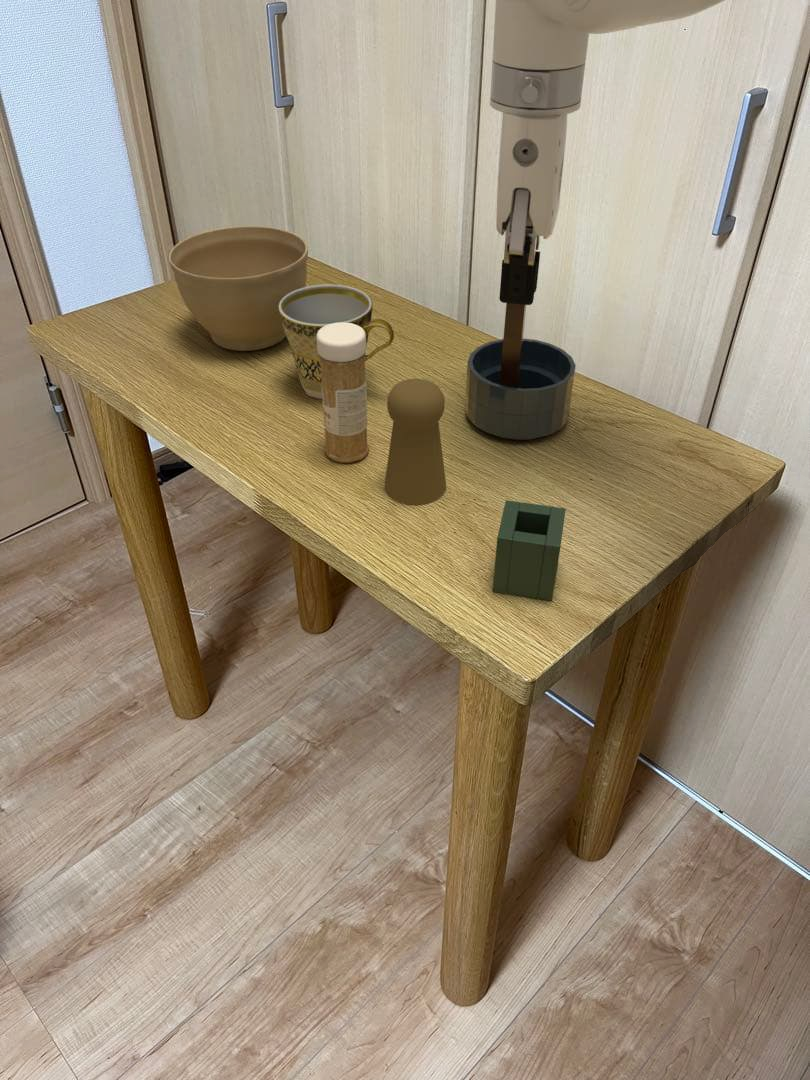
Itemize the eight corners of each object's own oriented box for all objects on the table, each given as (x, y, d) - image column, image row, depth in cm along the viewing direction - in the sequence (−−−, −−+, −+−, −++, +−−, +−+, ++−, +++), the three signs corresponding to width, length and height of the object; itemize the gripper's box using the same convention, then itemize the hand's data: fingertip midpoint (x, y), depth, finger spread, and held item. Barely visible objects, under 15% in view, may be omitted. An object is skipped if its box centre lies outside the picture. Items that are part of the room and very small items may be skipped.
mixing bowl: (571, 396, 95) (579, 344, 91) (562, 451, 87) (570, 396, 83) (474, 385, 97) (477, 333, 93) (457, 438, 89) (459, 383, 84)
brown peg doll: (374, 476, 84) (371, 378, 76) (429, 461, 85) (431, 364, 78) (399, 511, 79) (399, 411, 72) (457, 494, 81) (462, 395, 74)
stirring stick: (516, 403, 90) (533, 236, 79) (514, 412, 89) (531, 243, 77) (499, 401, 91) (514, 235, 79) (497, 410, 89) (511, 242, 78)
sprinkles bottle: (321, 443, 88) (312, 323, 79) (364, 436, 89) (360, 317, 80) (329, 468, 85) (320, 346, 76) (374, 461, 85) (370, 340, 77)
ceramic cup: (270, 396, 95) (260, 313, 88) (314, 357, 102) (308, 277, 95) (374, 423, 91) (371, 338, 84) (412, 380, 98) (413, 298, 91)
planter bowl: (324, 309, 112) (318, 226, 105) (300, 369, 99) (291, 281, 92) (205, 303, 113) (192, 221, 106) (167, 362, 101) (148, 274, 94)
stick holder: (557, 561, 74) (565, 508, 70) (551, 601, 70) (560, 547, 66) (500, 553, 75) (505, 499, 71) (492, 591, 71) (497, 537, 67)
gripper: (575, 113, 63) (548, 338, 75) (588, 66, 75) (564, 267, 87) (475, 108, 65) (465, 329, 77) (504, 62, 76) (491, 261, 88)
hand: (518, 295), depth 82 cm, fingers closed on stirring stick, 1 cm apart
